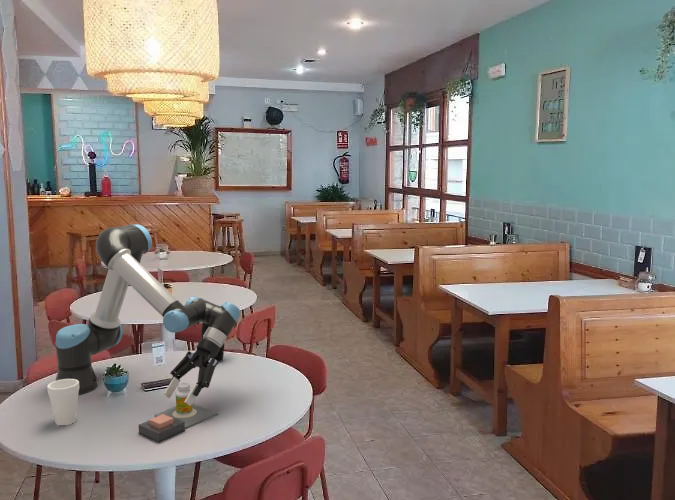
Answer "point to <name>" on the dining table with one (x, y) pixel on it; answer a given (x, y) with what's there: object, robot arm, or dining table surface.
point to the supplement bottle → (183, 399)
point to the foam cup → (64, 400)
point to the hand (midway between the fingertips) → (176, 399)
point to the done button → (161, 421)
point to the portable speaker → (221, 351)
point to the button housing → (161, 430)
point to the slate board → (190, 415)
